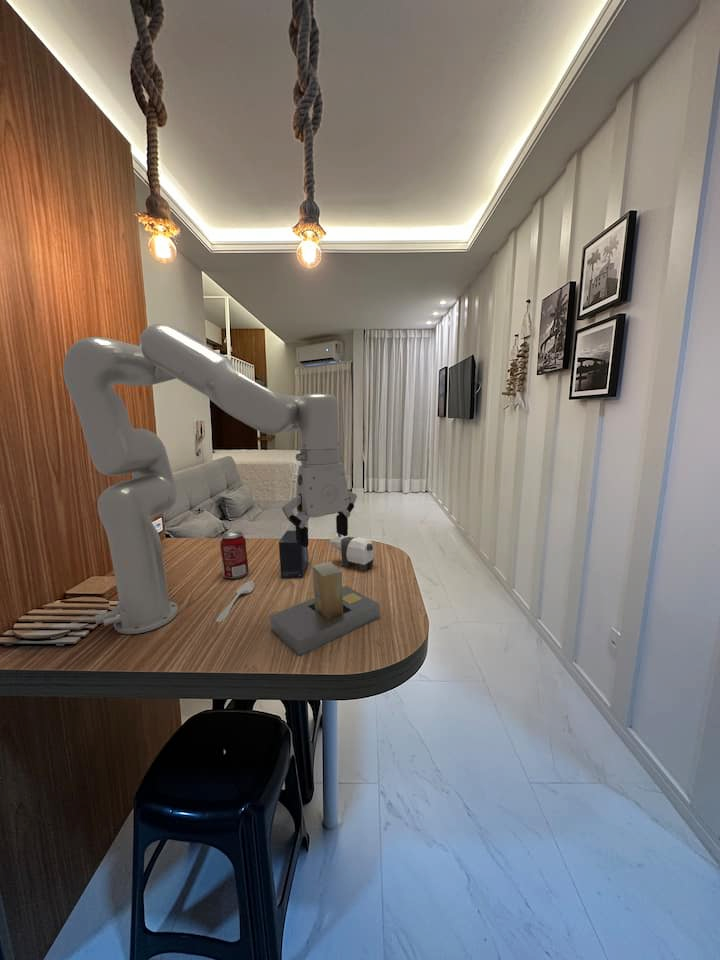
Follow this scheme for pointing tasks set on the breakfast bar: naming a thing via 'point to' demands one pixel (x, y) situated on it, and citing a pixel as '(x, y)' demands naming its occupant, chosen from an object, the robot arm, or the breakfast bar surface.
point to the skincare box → (328, 590)
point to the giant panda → (354, 551)
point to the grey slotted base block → (322, 621)
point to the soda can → (234, 555)
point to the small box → (292, 556)
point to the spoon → (246, 586)
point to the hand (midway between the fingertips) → (323, 539)
